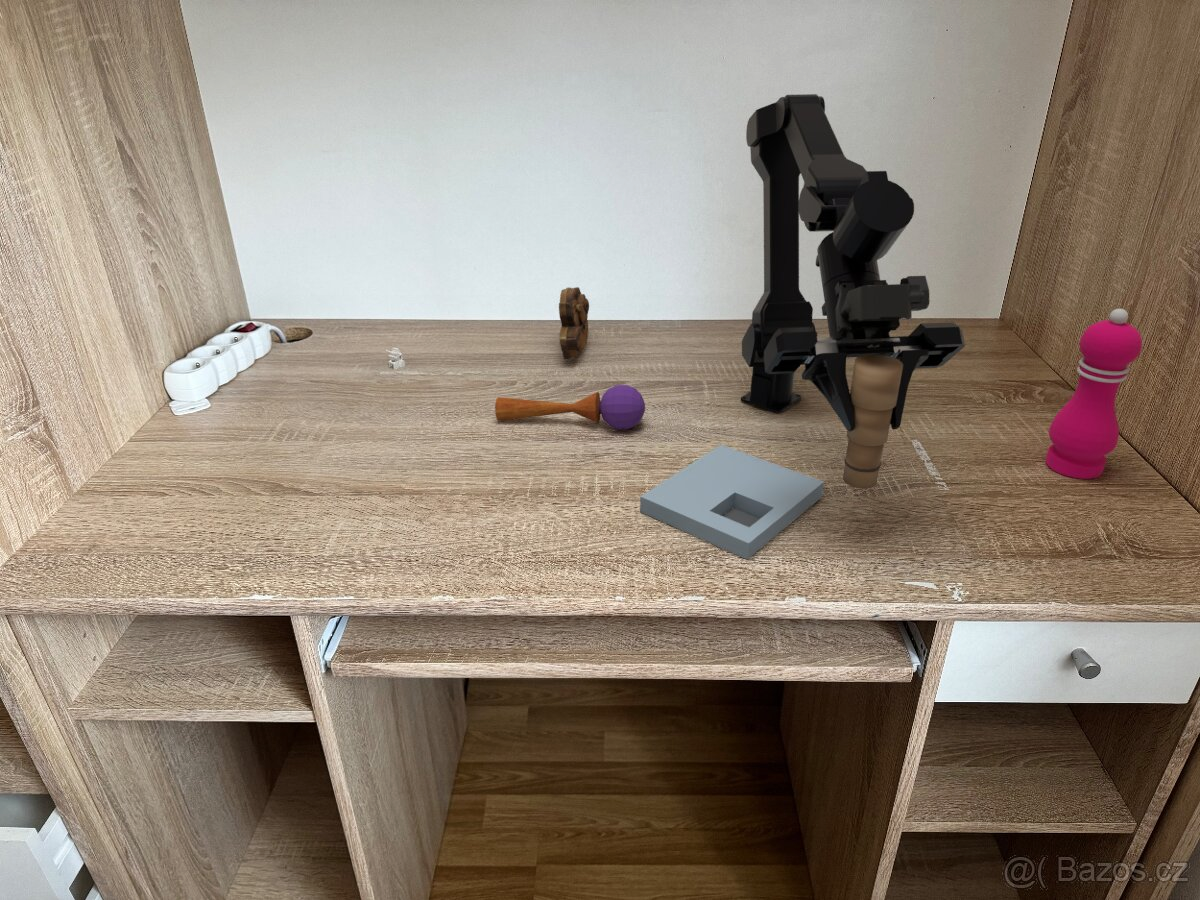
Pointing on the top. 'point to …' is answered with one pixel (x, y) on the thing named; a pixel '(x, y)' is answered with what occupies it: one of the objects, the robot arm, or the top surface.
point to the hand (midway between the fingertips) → (873, 429)
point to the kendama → (581, 407)
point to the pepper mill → (1094, 399)
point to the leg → (870, 416)
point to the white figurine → (396, 358)
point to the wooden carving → (573, 322)
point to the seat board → (732, 500)
